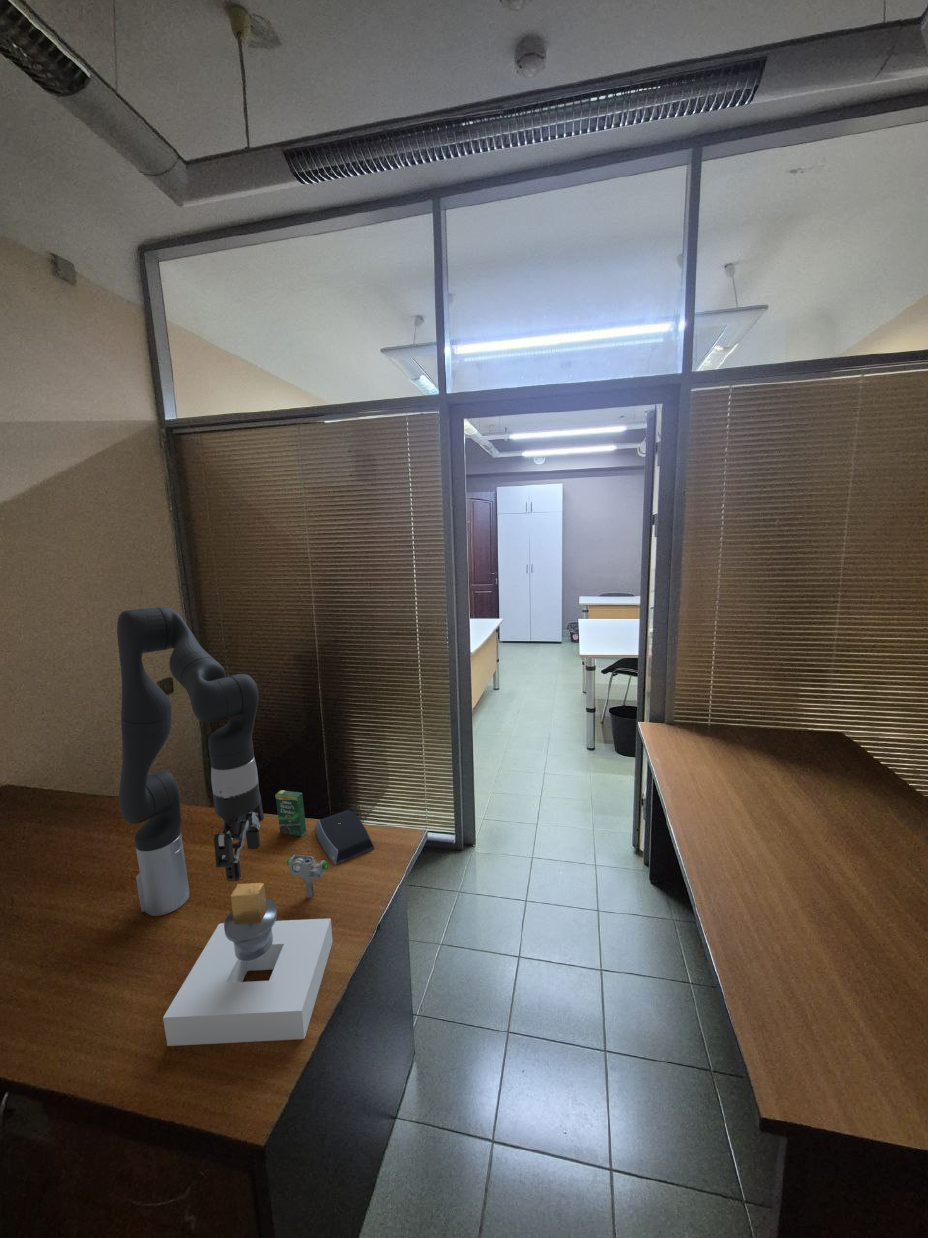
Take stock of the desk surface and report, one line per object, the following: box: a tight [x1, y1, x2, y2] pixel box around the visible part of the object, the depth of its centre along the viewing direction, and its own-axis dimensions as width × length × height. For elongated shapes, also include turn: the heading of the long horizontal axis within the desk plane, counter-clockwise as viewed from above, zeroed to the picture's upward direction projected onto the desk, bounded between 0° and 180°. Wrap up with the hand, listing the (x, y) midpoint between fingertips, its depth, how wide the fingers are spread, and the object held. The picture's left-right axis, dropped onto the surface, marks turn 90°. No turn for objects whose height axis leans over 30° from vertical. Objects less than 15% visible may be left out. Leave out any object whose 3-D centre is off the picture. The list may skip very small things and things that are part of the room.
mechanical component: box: [286, 854, 329, 899], centre depth 114 cm, size 3×10×10 cm, turn 78°
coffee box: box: [274, 789, 307, 837], centre depth 139 cm, size 8×3×13 cm, turn 73°
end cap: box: [223, 882, 278, 961], centre depth 89 cm, size 9×9×12 cm
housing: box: [162, 918, 333, 1047], centre depth 91 cm, size 24×20×6 cm
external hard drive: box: [314, 809, 375, 865], centre depth 137 cm, size 13×19×4 cm
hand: (244, 863), depth 87 cm, fingers open, 8 cm apart
